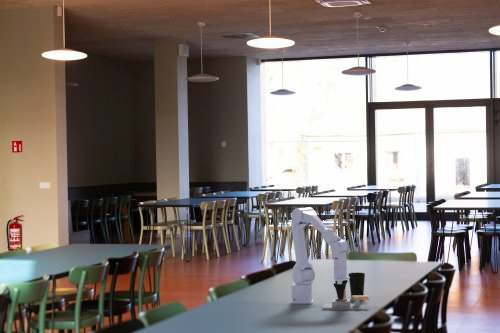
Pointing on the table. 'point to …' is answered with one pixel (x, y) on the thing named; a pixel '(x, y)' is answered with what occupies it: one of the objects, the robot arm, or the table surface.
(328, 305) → the dock
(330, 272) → the table surface
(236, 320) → the table surface
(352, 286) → the cup
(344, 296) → the peg
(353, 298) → the pin
